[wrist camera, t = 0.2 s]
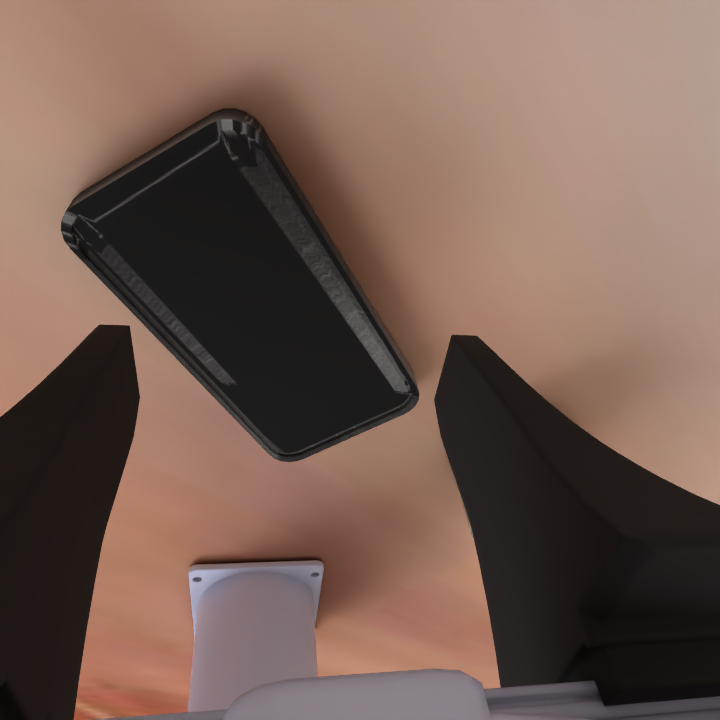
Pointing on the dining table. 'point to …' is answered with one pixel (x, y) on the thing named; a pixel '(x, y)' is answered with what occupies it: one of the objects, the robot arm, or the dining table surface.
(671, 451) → the dining table surface
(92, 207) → the phone
